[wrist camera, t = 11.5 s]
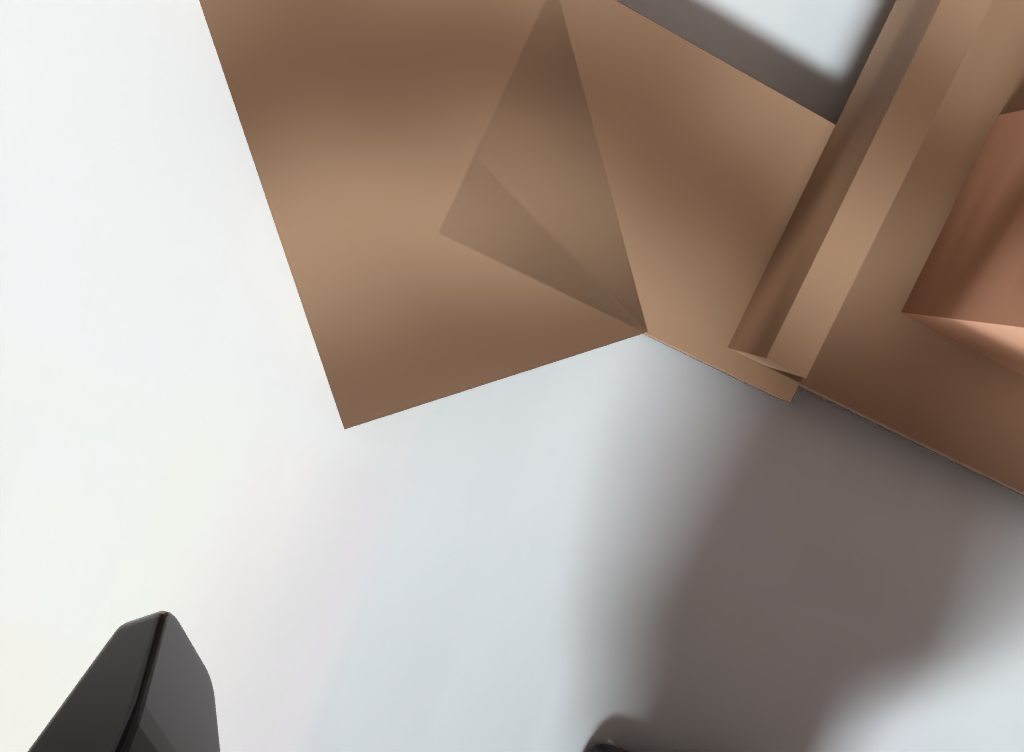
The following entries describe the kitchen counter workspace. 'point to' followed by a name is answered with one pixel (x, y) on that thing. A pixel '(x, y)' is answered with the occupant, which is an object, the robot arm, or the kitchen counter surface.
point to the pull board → (622, 201)
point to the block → (981, 255)
